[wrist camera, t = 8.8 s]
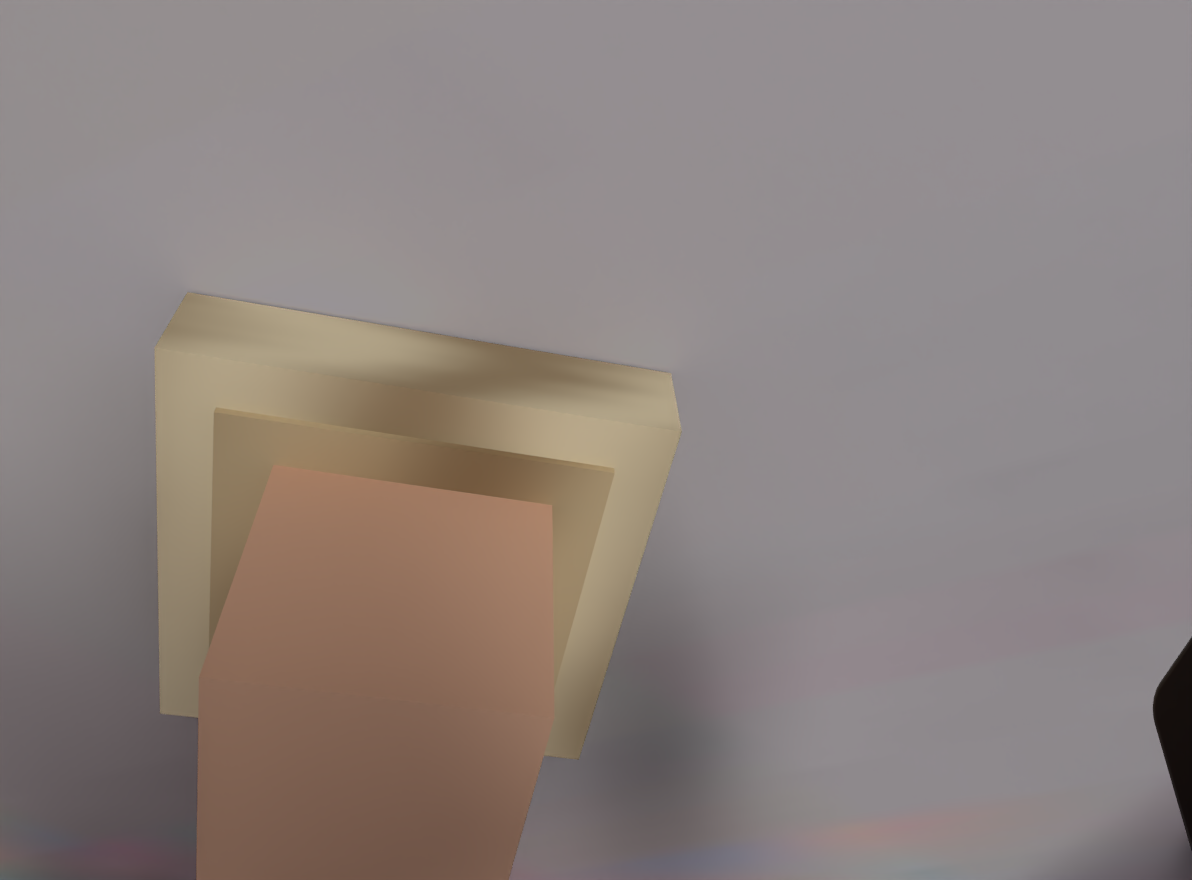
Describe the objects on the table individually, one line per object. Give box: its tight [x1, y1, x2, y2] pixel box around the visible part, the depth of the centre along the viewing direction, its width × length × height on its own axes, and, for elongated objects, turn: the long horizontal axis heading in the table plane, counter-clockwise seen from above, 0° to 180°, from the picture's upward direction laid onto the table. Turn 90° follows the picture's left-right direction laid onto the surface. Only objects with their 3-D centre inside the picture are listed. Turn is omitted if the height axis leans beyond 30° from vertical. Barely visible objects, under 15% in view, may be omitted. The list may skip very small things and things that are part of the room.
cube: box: [196, 465, 554, 880], centre depth 19 cm, size 5×5×5 cm
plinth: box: [155, 292, 682, 760], centre depth 22 cm, size 9×9×2 cm
